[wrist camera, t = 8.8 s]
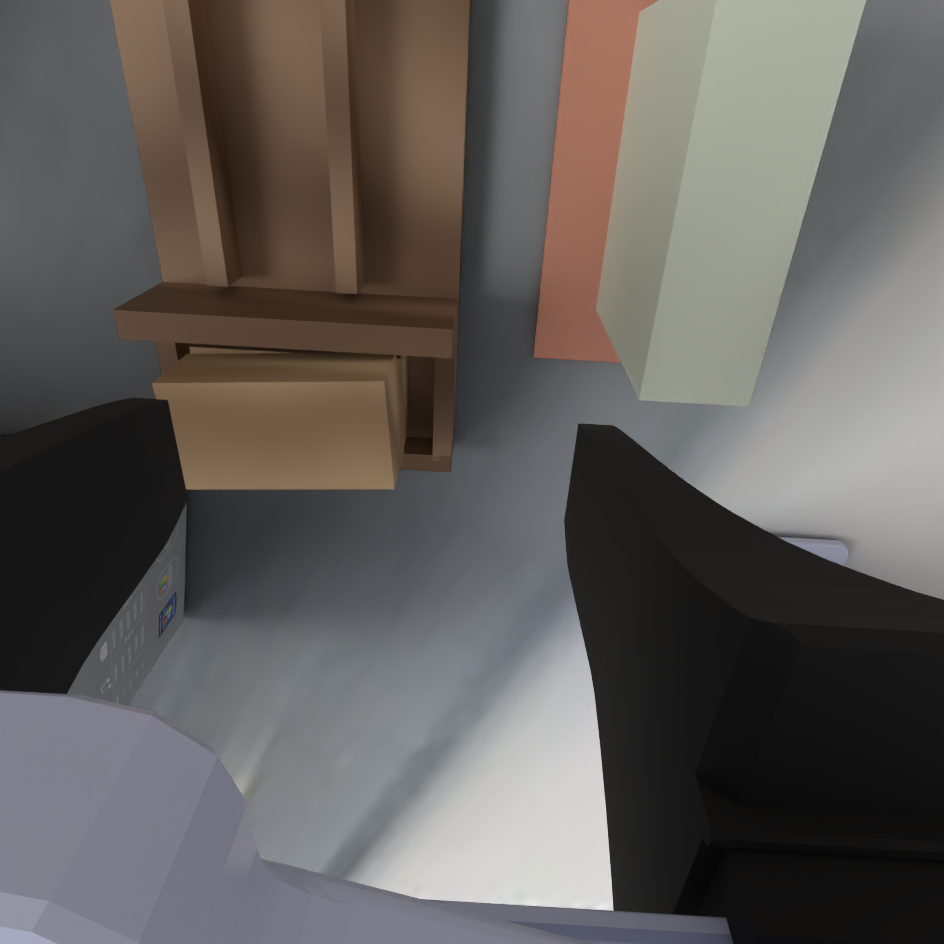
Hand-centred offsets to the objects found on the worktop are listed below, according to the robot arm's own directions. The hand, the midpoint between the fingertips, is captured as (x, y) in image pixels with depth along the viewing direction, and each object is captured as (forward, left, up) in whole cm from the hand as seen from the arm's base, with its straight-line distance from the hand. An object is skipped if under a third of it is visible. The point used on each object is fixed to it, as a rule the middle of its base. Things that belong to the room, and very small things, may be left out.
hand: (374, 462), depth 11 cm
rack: (+3, +3, -10) cm, 11 cm away
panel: (+4, -7, -10) cm, 13 cm away
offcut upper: (-2, +3, -7) cm, 9 cm away
